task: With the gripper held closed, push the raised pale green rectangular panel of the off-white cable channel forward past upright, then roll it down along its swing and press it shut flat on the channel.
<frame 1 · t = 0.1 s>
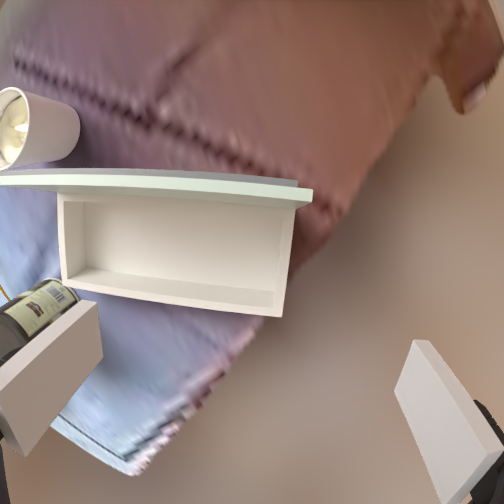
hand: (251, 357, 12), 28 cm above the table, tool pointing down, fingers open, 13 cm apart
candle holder: (59, 132, 37), on the table
coffee can: (60, 307, 45), on the table
pale green rectangular panel: (139, 185, 27), point 12 cm above the table, hinge at 100.0°
duct channel: (174, 239, 40), on the table
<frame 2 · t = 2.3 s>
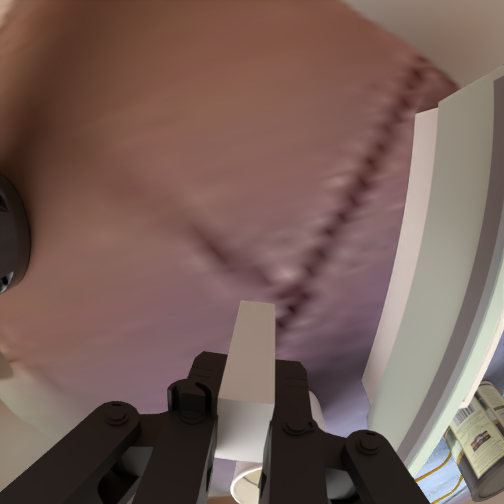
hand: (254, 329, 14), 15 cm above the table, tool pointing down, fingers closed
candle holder: (283, 408, 34), on the table
coffee can: (466, 407, 34), on the table
pale green rectangular panel: (436, 313, 17), point 12 cm above the table, hinge at 100.0°
duct channel: (444, 266, 28), on the table
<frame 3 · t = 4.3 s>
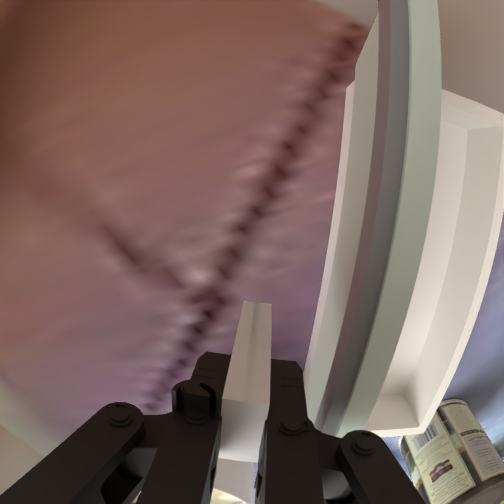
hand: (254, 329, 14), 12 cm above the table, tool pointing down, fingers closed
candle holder: (215, 419, 31), on the table
coffee can: (434, 427, 31), on the table
pale green rectangular panel: (337, 333, 14), point 12 cm above the table, hinge at 96.8°, touching gripper
duct channel: (392, 268, 26), on the table
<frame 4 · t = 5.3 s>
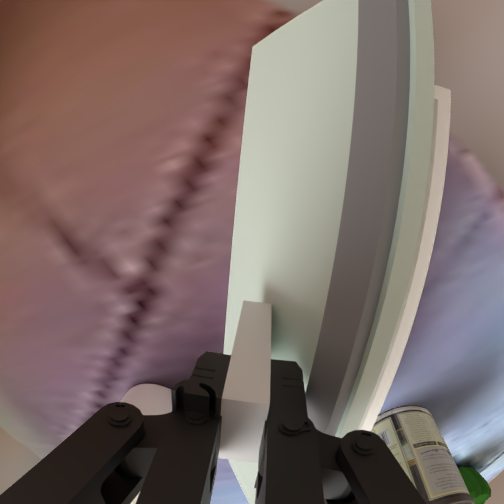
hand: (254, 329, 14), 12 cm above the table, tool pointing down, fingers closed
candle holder: (160, 410, 31), on the table
coffee can: (394, 434, 31), on the table
pale green rectangular panel: (273, 329, 14), point 12 cm above the table, hinge at 64.5°, touching gripper
bell pepper: (452, 474, 33), on the table
duct channel: (324, 262, 25), on the table
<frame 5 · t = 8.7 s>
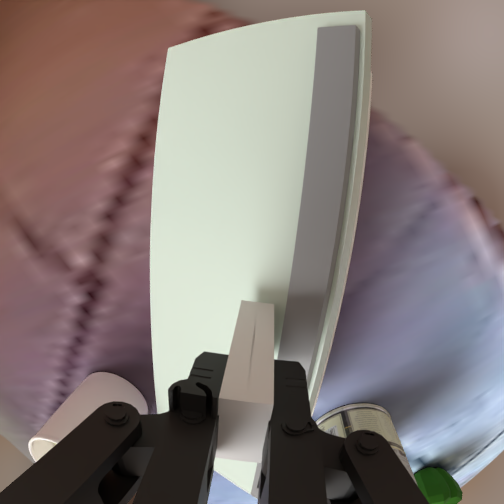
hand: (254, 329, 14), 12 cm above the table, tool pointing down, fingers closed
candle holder: (115, 398, 32), on the table
coffee can: (349, 432, 32), on the table
pale green rectangular panel: (219, 303, 16), point 10 cm above the table, hinge at 35.6°, touching gripper
bell pepper: (422, 475, 35), on the table
duct channel: (255, 253, 26), on the table
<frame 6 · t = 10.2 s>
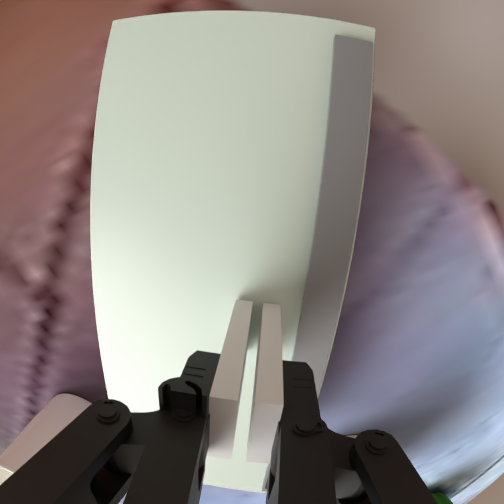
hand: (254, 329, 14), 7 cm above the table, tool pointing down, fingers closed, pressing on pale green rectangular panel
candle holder: (84, 421, 27), on the table
pale green rectangular panel: (206, 318, 15), point 7 cm above the table, hinge at 3.0°, touching gripper
bell pepper: (420, 499, 30), on the table
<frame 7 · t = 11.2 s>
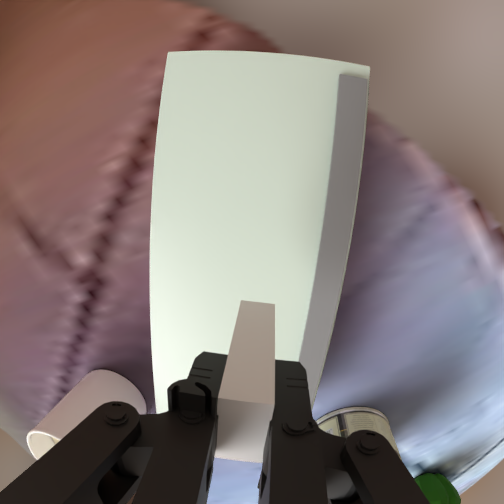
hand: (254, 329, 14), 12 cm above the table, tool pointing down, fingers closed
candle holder: (115, 396, 32), on the table
coffee can: (347, 435, 31), on the table
pale green rectangular panel: (241, 285, 20), point 7 cm above the table, hinge at 2.6°
bell pepper: (421, 480, 34), on the table
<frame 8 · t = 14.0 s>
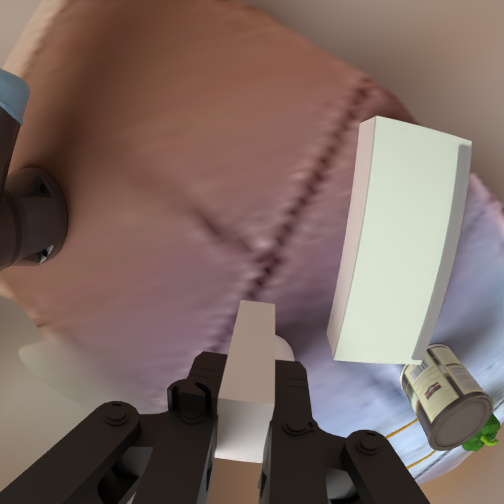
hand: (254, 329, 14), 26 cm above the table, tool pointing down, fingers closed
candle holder: (264, 356, 45), on the table
coffee can: (427, 369, 44), on the table
pale green rectangular panel: (409, 254, 32), point 7 cm above the table, hinge at 2.6°
bell pepper: (468, 414, 47), on the table
duct channel: (388, 239, 39), on the table
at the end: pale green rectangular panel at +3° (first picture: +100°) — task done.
